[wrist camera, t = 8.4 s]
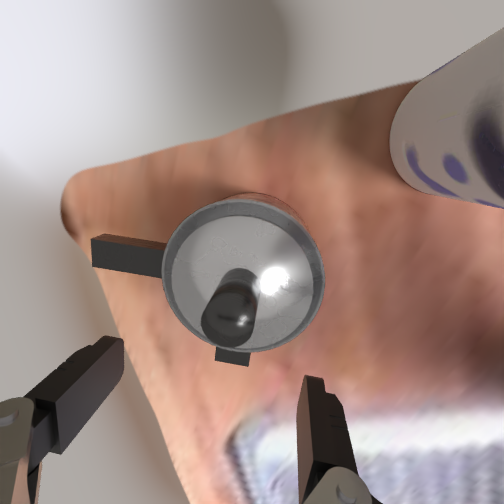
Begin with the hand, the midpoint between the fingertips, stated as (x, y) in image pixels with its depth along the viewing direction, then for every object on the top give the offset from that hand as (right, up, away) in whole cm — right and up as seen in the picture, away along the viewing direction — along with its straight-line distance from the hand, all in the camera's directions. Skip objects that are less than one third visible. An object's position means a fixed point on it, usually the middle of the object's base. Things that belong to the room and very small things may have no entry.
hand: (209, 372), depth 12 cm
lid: (+1, +3, +9) cm, 10 cm away
